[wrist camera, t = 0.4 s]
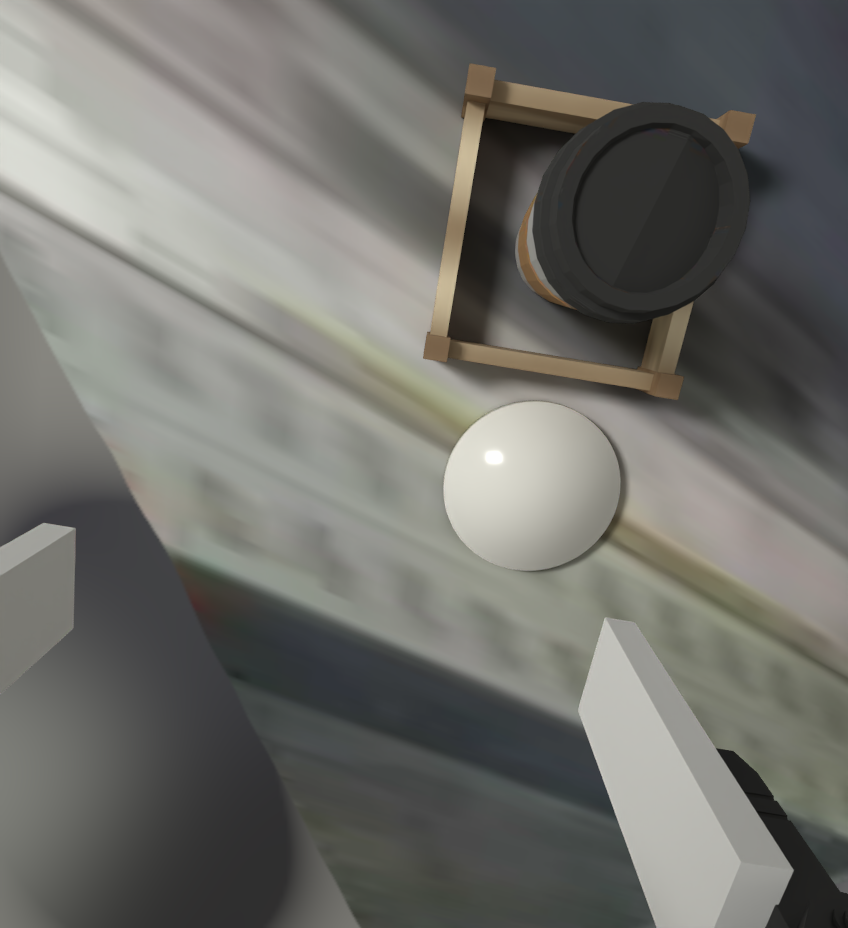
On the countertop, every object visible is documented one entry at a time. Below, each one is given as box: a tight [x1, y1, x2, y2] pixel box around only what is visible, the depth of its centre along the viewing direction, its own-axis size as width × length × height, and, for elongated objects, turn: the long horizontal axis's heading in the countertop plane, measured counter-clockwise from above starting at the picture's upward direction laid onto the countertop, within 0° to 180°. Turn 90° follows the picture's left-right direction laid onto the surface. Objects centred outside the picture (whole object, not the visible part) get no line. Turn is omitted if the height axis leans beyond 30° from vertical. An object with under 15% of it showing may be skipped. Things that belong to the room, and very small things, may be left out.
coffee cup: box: [515, 102, 750, 323], centre depth 29 cm, size 8×8×15 cm
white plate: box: [443, 400, 621, 571], centre depth 40 cm, size 12×12×1 cm
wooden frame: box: [423, 64, 756, 400], centre depth 35 cm, size 15×15×4 cm
